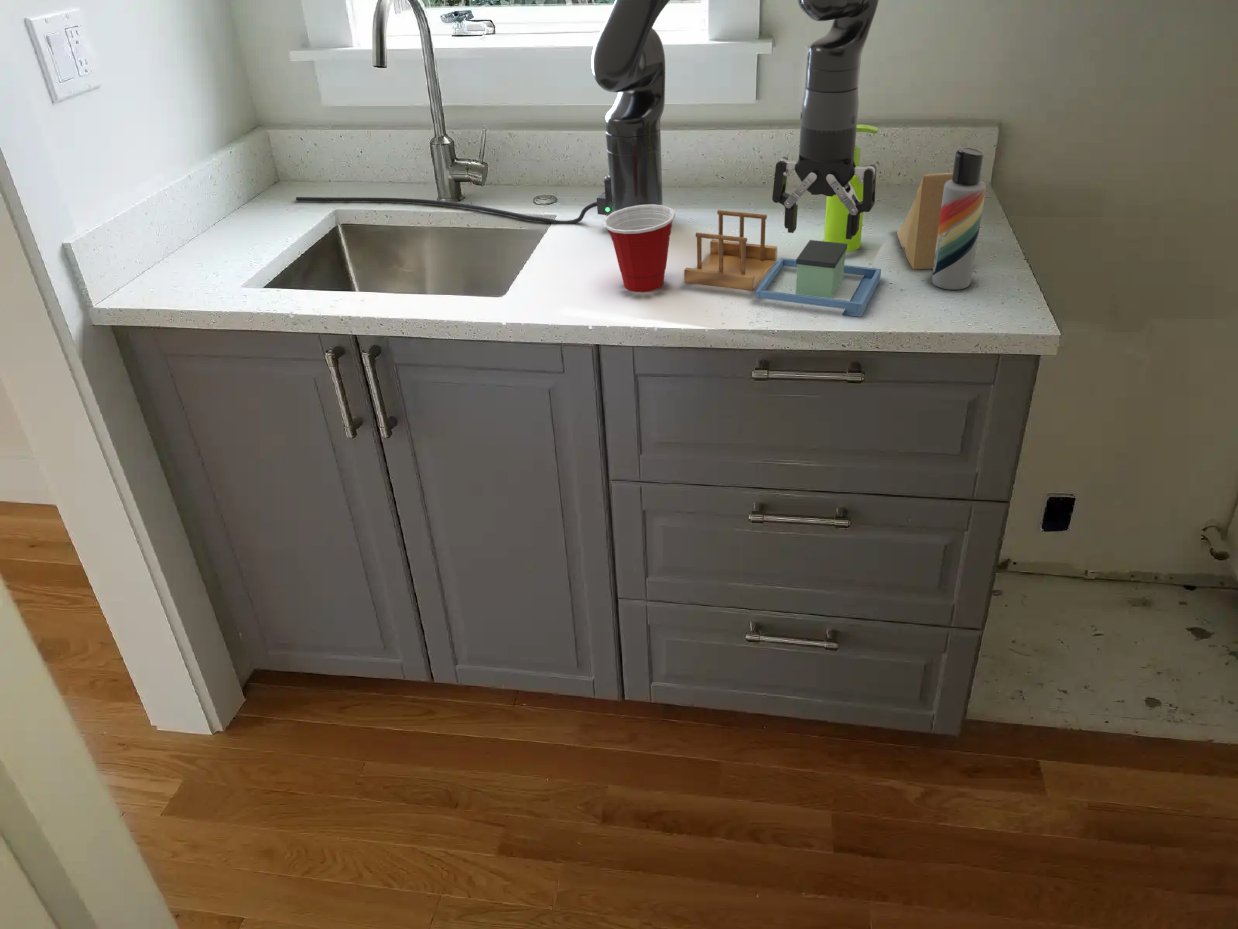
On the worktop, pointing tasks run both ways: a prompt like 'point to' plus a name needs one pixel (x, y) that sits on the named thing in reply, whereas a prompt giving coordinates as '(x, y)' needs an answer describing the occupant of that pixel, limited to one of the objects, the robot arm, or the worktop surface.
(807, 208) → the worktop surface
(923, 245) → the sandwich container
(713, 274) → the dish rack
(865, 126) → the soap dispenser
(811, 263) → the tub
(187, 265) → the worktop surface
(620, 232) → the plastic cup
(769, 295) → the tray
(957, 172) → the lotion bottle
